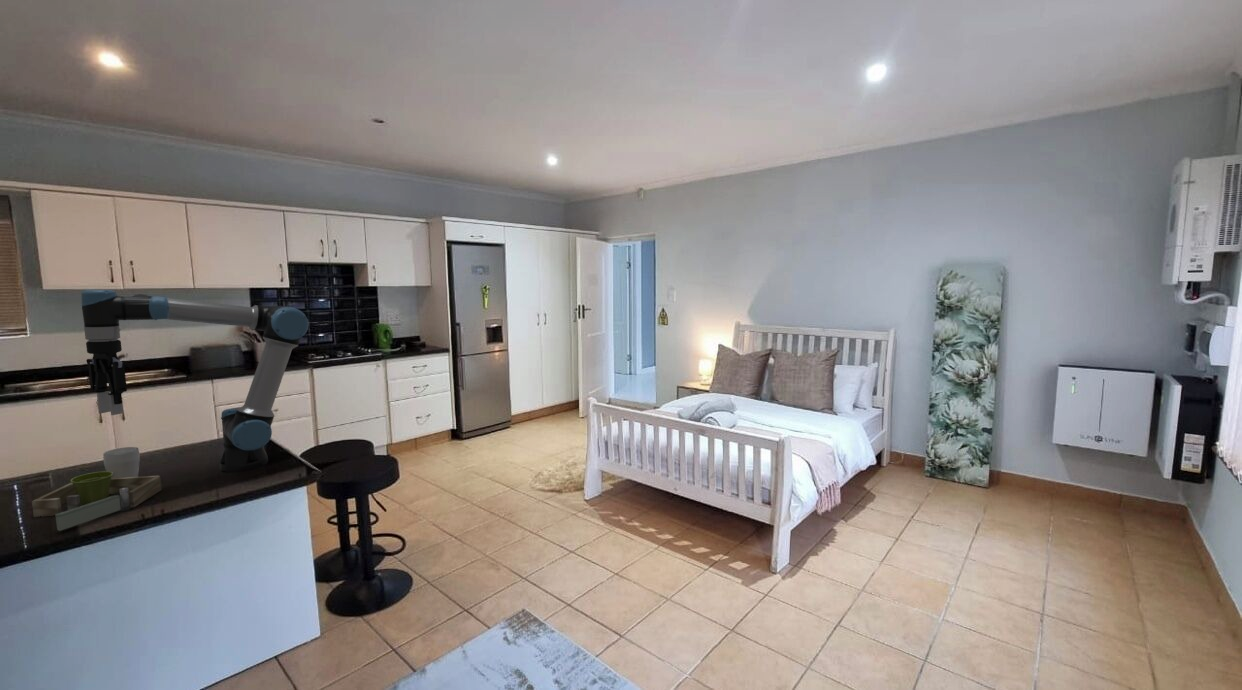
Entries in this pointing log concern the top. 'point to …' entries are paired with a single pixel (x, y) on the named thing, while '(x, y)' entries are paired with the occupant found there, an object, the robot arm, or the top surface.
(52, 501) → the pen walls
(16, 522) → the top surface
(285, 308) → the robot arm
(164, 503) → the top surface
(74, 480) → the plant pot
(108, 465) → the cup
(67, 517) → the gate
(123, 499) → the hinge post
